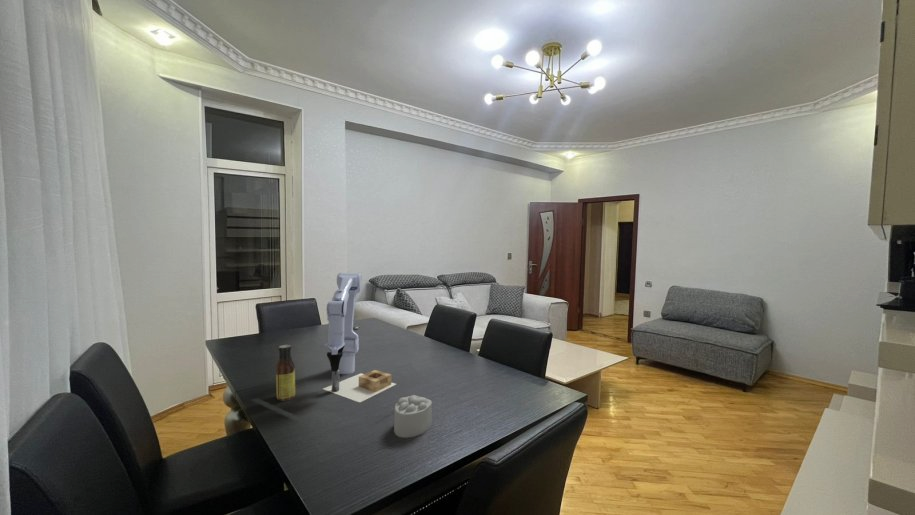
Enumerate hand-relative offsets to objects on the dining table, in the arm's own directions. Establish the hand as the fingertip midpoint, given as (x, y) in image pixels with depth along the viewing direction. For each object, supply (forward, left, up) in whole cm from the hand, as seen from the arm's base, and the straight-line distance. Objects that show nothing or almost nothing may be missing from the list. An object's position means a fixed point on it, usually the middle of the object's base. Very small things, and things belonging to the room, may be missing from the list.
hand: (335, 367), depth 138 cm
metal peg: (0, 0, -9) cm, 9 cm away
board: (+5, +8, -10) cm, 14 cm away
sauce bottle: (-10, -14, -10) cm, 20 cm away
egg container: (+39, -3, -10) cm, 41 cm away
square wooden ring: (+9, +12, -9) cm, 17 cm away
